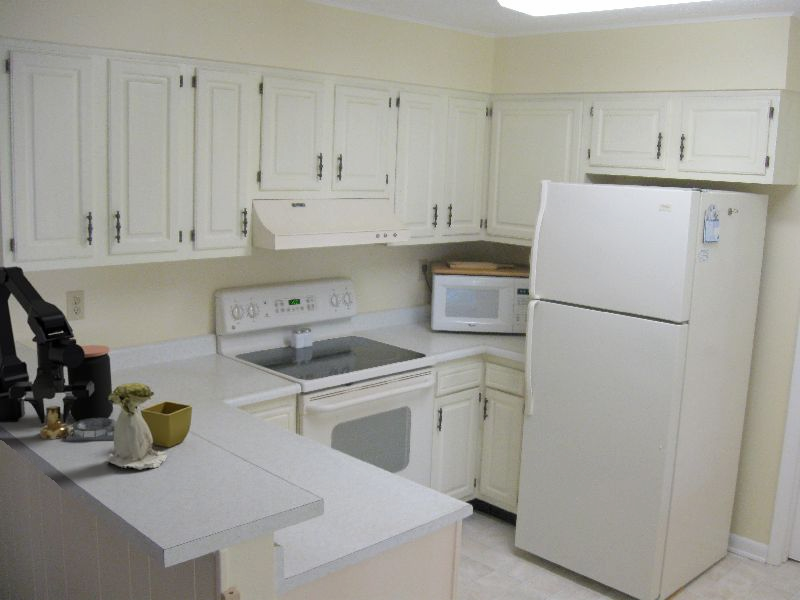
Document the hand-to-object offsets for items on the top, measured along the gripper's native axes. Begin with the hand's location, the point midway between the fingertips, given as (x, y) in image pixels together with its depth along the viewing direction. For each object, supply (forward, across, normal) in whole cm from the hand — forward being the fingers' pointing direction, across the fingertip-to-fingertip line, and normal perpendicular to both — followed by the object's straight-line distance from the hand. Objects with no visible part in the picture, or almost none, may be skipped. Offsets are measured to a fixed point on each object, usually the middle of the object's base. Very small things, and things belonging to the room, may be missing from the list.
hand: (54, 423), depth 210 cm
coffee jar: (+3, +6, +14) cm, 16 cm away
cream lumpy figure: (+3, +24, -20) cm, 31 cm away
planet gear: (+3, 0, 0) cm, 3 cm away
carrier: (+3, +14, 0) cm, 14 cm away
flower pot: (+3, +28, -8) cm, 30 cm away
